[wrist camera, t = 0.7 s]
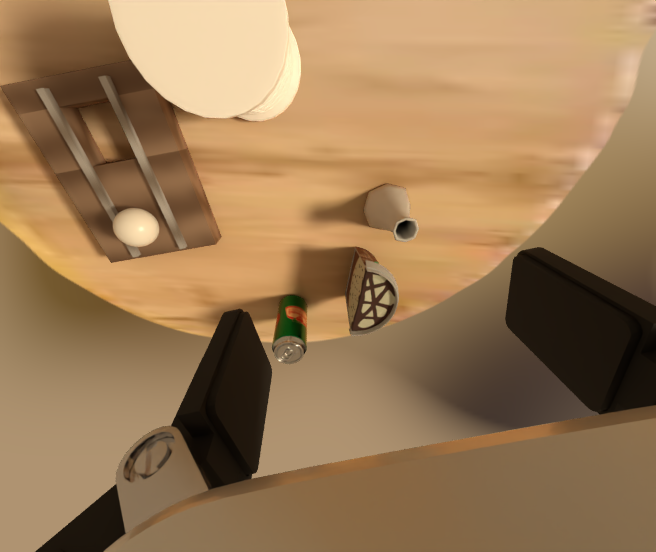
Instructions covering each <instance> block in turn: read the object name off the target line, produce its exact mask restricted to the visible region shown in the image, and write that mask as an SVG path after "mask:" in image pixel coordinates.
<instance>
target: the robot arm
mask: <svg viewBox="0 0 656 552" xmlns="http://www.w3.org/2000/svg"><path fill="white" fill-rule="evenodd" d="M505 319H506V324H507V326H508V328H509V329H510V330H511V331H512V332H513V333H514V334H515V335H516V336H517V337H518V338H519V339H520V340H521V341H522V342H523V343H524V344H525V345H526V346H527V347H528V348H529V349H530V350H531V351H532V352H533V353H534V354H535V355H536V356H537V357H538V358H539V359H540V360H541V361H542V362H543V363H544V364H545V365H546V366H547V367H548V368H549V369H550V370H551V371H552V372H553V373H554V374H555V375H556V376H557V377H558V378H559V379H560V380H561V381H562V382H563V383H564V384H565V385H566V386H567V387H568V388H569V389H570V390H571V391H572V392H573V393H574V394H575V395H576V396H577V397H578V398H579V399H580V400H581V401H582V402H583V403H584V404H585V405H586V406H587V407H588V408H589V409H590V410H592V411H595V412H598V413H599V414H600V415H595V416H589V417H584V418H577V419H572V420H566V421H560V422H555V423H549V424H543V425H537V426H532V427H526V428H521V429H515V430H509V431H504V432H499V433H493V434H487V435H481V436H476V437H470V438H465V439H460V440H454V441H448V442H443V443H437V444H432V445H426V446H421V447H415V448H409V449H404V450H399V451H393V452H388V453H383V454H377V455H372V456H366V457H361V458H356V459H350V460H345V461H340V462H335V463H329V464H323V465H318V466H313V467H307V468H303V469H298V470H293V471H288V472H283V473H278V474H273V475H268V476H263V477H259V478H254V479H251V478H252V474H254V473H256V472H257V470H258V465H259V458H260V451H261V445H262V438H263V431H264V424H265V418H266V411H267V404H268V398H269V391H270V384H271V377H272V369H271V365H270V362H269V360H268V358H267V355H266V353H265V350H264V348H263V346H262V343H261V341H260V338H259V336H258V334H257V331H256V329H255V327H254V324H253V322H252V319H251V317H250V315H249V313H248V312H243V310H242V309H237V310H232V311H228V312H224V314H223V315H222V317H221V320H220V322H219V324H218V326H217V328H216V331H215V333H214V335H213V337H212V339H211V341H210V344H209V346H208V348H207V350H206V352H205V354H204V357H203V358H202V360H201V362H200V364H199V367H198V369H197V371H196V373H195V375H194V377H193V379H192V382H191V384H190V386H189V388H188V390H187V392H186V395H185V397H184V399H183V401H182V403H181V405H180V408H179V410H178V412H177V414H176V417H175V418H174V421H173V423H172V425H171V426H163V427H160V428H157V429H155V430H153V431H151V432H149V433H147V434H146V435H144V436H143V437H142V438H140V439H139V440H138V441H137V442H136V443H135V444H134V445H133V446H132V447H131V448H130V449H129V450H128V451H127V452H126V454H125V455H124V457H123V459H122V460H121V462H120V464H119V466H118V469H117V472H116V485H114V486H113V487H112V488H111V489H110V490H108V491H107V492H106V493H105V494H104V495H102V496H101V497H100V498H99V499H98V500H96V501H95V502H94V503H93V504H92V505H90V506H89V507H88V508H87V509H86V510H85V511H83V512H82V513H81V514H80V515H79V516H77V517H76V518H75V519H74V520H73V521H71V522H70V523H69V524H68V525H67V526H65V527H64V528H63V529H62V530H61V531H59V532H58V533H57V534H56V535H55V536H54V537H52V538H51V539H50V540H49V541H47V542H46V543H45V544H44V545H43V546H42V547H40V548H39V549H38V550H37V551H36V552H656V306H654V305H652V304H650V303H648V302H646V301H645V300H643V299H641V298H639V297H637V296H635V295H633V294H631V293H629V292H627V291H625V290H623V289H621V288H619V287H617V286H616V285H613V284H612V283H610V282H607V281H606V280H604V279H602V278H600V277H598V276H596V275H594V274H592V273H590V272H588V271H586V270H584V269H582V268H581V267H578V266H577V265H575V264H573V263H571V262H569V261H567V260H565V259H563V258H561V257H559V256H557V255H555V254H553V253H551V252H550V251H548V250H546V249H544V248H540V247H537V248H532V249H528V250H523V251H520V252H519V253H518V255H517V256H516V257H514V259H513V265H512V273H511V280H510V287H509V295H508V303H507V310H506V318H505Z"/></svg>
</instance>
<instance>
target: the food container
mask: <svg viewBox="0 0 656 552" xmlns="http://www.w3.org/2000/svg"><path fill="white" fill-rule="evenodd" d="M345 297H346V304H347V311H348V318H349V325H350V329H349V331H350V334H351V336H359V335H365V334H369V333H372V332H375V331H377V330H379V329H380V328H382V327H383V326H384V325H386V324H387V323H388V322H389V321H390V320H391V318H392V317H393V315H394V314H395V311H396V309H397V305H398V299H399V294H398V287H397V283H396V280H395V278H394V277H393V275H392V274H391V273H390V271H389V270H387V269H386V268H385V267H384V266H382V265H380V264H379V263H378V261H377V260H376V259H375V257H374V256H373V255H372V254H371V253H370V252H369V251H367V250H365V249H363V248H360V247H355V250H354V254H353V259H352V264H351V268H350V273H349V278H348V283H347V287H346V292H345Z"/></svg>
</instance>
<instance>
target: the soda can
mask: <svg viewBox="0 0 656 552" xmlns="http://www.w3.org/2000/svg"><path fill="white" fill-rule="evenodd" d="M306 344H307V304H306V302H305V300H304V299H302V298H301V297H299V296H295V295H290V296H286V297H284V298H283V299H282V300H281V301H280V303H279V308H278V314H277V320H276V326H275V332H274V338H273V344H272V350H273V352H274V356H275V358H276V359H277V360H278V361H280V362H282V363H285V364H293V363H296V362H298V361H300V360H301V359H302V357H303V355H304V354H305V352H306V347H307V346H306Z"/></svg>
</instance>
